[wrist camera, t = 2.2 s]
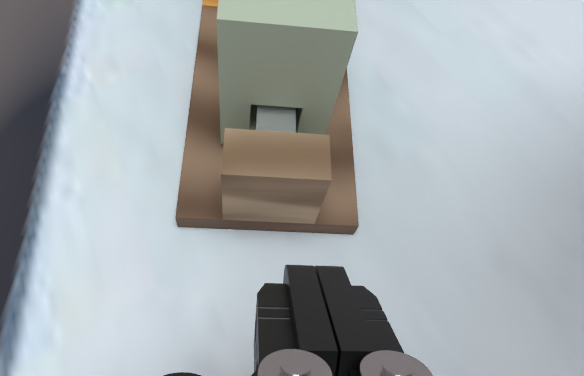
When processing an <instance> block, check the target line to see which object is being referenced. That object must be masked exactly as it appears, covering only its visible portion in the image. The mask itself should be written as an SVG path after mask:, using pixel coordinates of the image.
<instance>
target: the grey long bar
mask: <svg viewBox="0 0 584 376" xmlns="http://www.w3.org/2000/svg"><path fill="white" fill-rule="evenodd" d="M255 130H263V131H278V132H293V133H296V108H295V107H281V106H267V105H256V125H255Z"/></svg>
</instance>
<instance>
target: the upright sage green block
mask: <svg viewBox="0 0 584 376" xmlns="http://www.w3.org/2000/svg"><path fill="white" fill-rule="evenodd" d="M357 34H358V26H357V15H356V5H355V0H219V1H218V10H217V47H218V76H219V106H220V136H221V144H224V132H225V128H232V129H248V130H255V125H256V105H267V106H281V107H295V108H296V133H308V134H323V135H325V134H326V131H327V128H328V125H329V121H330V118H331V115H332V112H333V109H334V106H335V103H336V99H337V96H338V93H339V90H340V87H341V84H342V81H343V77H344V74H345V71H346V68H347V65H348V62H349V59H350V56H351V52H352V49H353V46H354V43H355V40H356V37H357Z"/></svg>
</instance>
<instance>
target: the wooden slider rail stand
mask: <svg viewBox="0 0 584 376" xmlns="http://www.w3.org/2000/svg"><path fill="white" fill-rule="evenodd" d="M218 1H219V0H203V4H202V13H201V21H200V29H199V37H198V45H197V53H196V61H195V68H194V76H193V84H192V92H191V100H190V108H189V116H188V124H187V131H186V139H185V147H184V155H183V163H182V171H181V179H180V186H179V194H178V202H177V210H176V221H177V225H178V227H196V228H219V229H242V230H265V231H288V232H311V233H334V234H354V232H355V231H356V229H357V228H358V226H359V225H358V212H357V198H356V185H355V172H354V158H353V145H352V132H351V119H350V105H349V92H348V79H347V68H346V71H345V74H344V77H343V81H342V84H341V87H340V90H339V93H338V96H337V99H336V103H335V106H334V109H333V112H332V115H331V118H330V121H329V125H328V128H327V131H326V134H325V135H323V134H308V133H293V132H278V131H263V130H248V129H232V128H225V132H224V144H221V136H220V106H219V76H218V47H217V10H218Z"/></svg>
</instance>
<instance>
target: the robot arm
mask: <svg viewBox="0 0 584 376" xmlns="http://www.w3.org/2000/svg"><path fill="white" fill-rule="evenodd" d="M164 376H201V375H197V374H193V373H183V372H181V373H172V374H167V375H164ZM251 376H433V375H432V374H431V372H430V371H429V369H428V368H427V367H426V366H425V365H424V364H423V363H421V362H420V361H419V360H417V359H415V358H414V357H412V356H409V355H407V354H404V352H403V350H402V348H401V346H400V344H399V342H398V340H397V338H396V336H395V334H394V332H393V330H392V328H391V326H390V324H389V322H387V318H386V315H385V313H384V311H382V307H381V305H380V303H379V301H378V299H377V297H376V296H375V295H374V294H372V293H371V292H370V291H369V290H367V289H366V288H365V287H364V286H351V284H350V281H349V279H348V277H347V274H346V272H345V269H344V267H338V266H315V267H314V266H305V265H285V270H284V280H283V284H274V283H265V284H264V286H263V287H262V288H261V289H260V291H259V292H258V293H257V306H256V321H255V337H254V373H253V374H252V375H251Z"/></svg>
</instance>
